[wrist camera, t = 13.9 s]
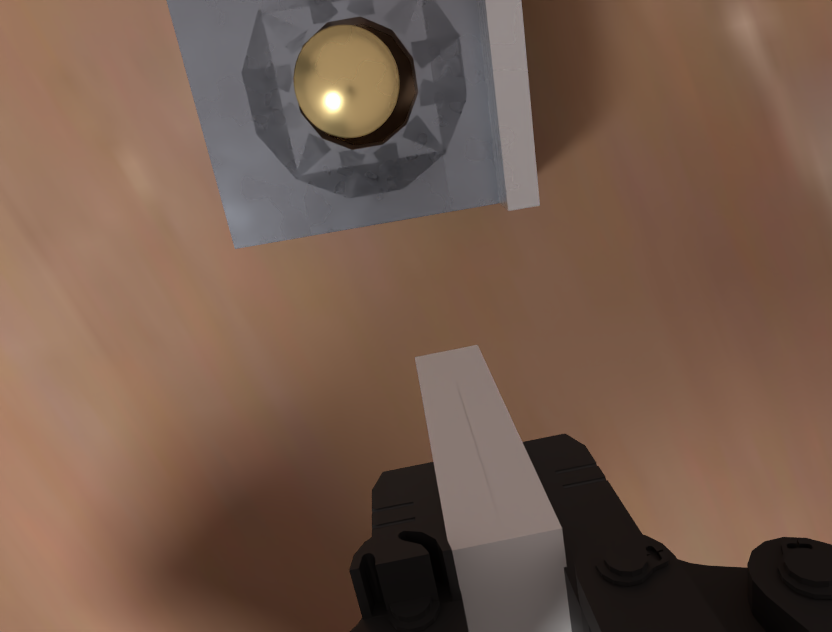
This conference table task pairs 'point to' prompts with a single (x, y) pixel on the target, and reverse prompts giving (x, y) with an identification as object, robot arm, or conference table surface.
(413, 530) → the robot arm
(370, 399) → the conference table surface
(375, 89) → the cylinder
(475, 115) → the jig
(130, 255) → the conference table surface
